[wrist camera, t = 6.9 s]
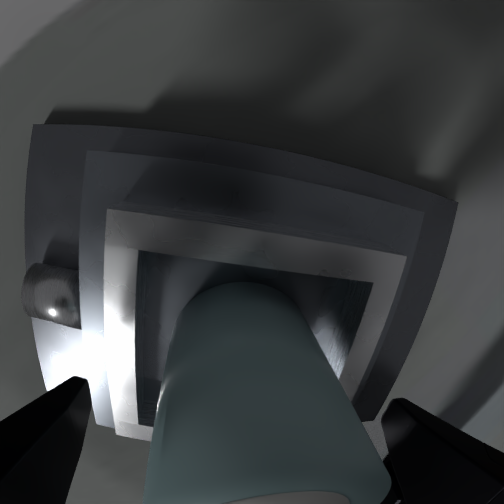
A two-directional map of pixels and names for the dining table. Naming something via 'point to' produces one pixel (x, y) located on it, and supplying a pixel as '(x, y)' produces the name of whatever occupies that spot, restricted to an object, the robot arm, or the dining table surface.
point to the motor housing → (215, 256)
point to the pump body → (255, 411)
